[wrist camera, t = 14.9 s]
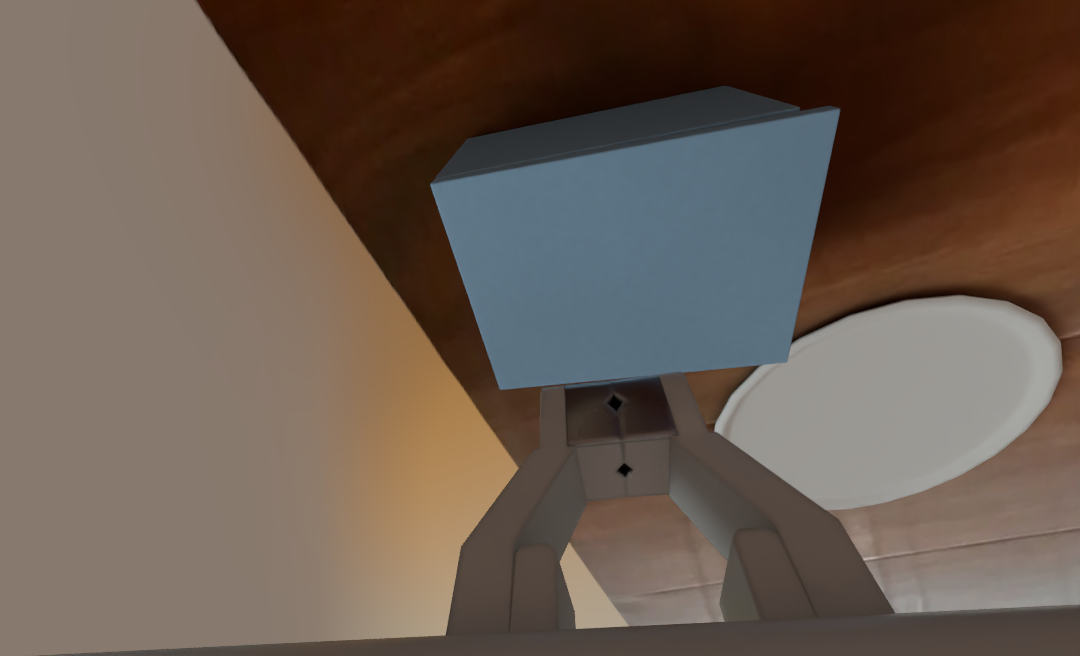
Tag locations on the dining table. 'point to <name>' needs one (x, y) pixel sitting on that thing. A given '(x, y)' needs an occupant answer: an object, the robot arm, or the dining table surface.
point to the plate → (896, 398)
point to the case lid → (642, 251)
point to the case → (613, 128)
